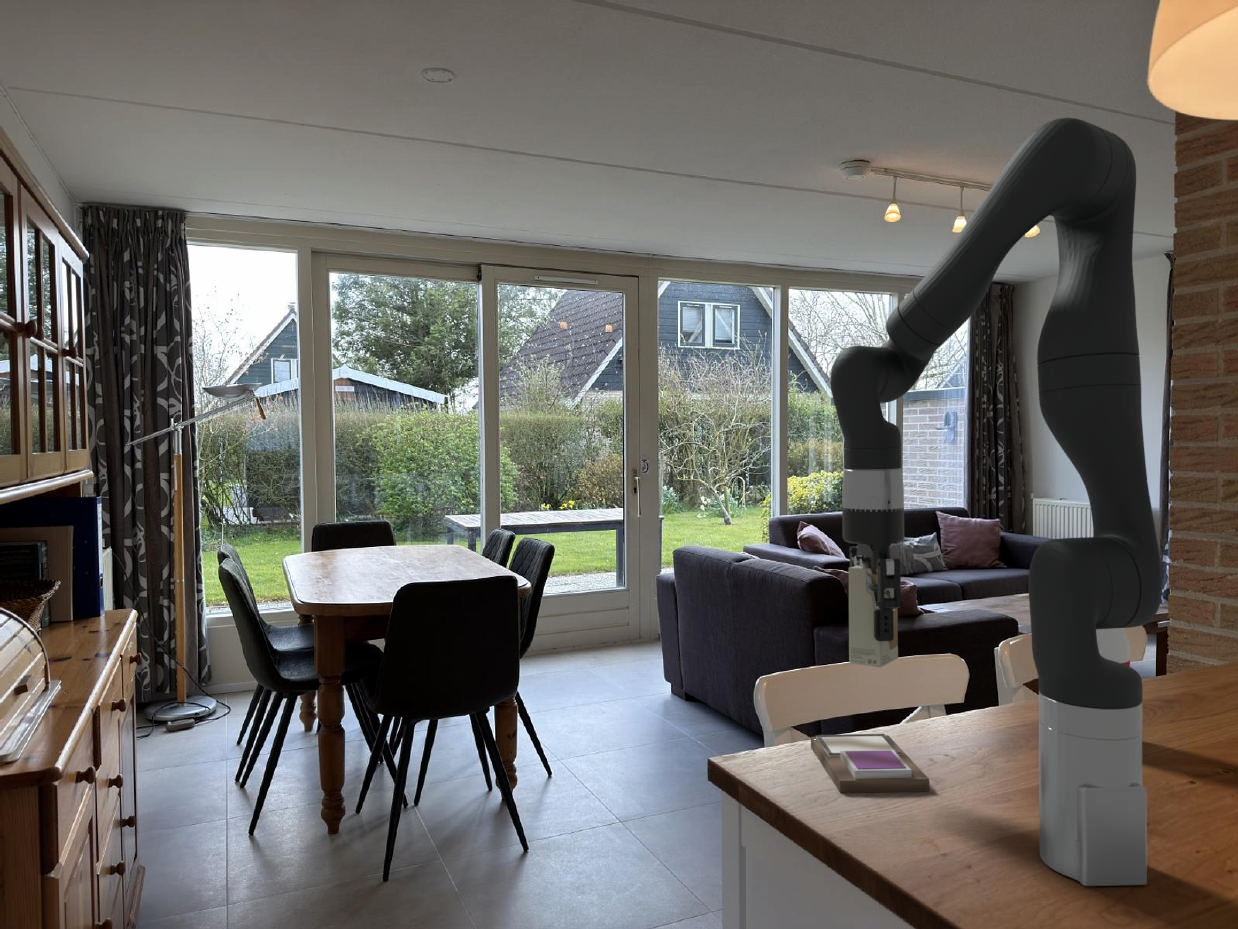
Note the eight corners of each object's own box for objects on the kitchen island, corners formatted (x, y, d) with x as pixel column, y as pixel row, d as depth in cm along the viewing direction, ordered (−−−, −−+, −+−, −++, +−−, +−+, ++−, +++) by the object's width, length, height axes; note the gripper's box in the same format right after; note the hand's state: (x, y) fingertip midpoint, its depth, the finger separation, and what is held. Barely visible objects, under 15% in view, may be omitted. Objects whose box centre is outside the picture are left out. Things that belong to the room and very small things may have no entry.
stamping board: (929, 791, 107) (929, 770, 107) (840, 793, 107) (839, 772, 107) (888, 745, 123) (888, 727, 123) (810, 747, 123) (810, 729, 123)
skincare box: (881, 669, 107) (880, 570, 107) (847, 664, 110) (846, 567, 109) (899, 658, 112) (898, 563, 112) (867, 653, 115) (866, 561, 115)
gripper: (922, 508, 103) (923, 646, 104) (884, 500, 118) (886, 621, 118) (859, 509, 103) (860, 647, 104) (829, 501, 118) (830, 622, 118)
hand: (874, 633), depth 111 cm, fingers closed on skincare box, 7 cm apart
